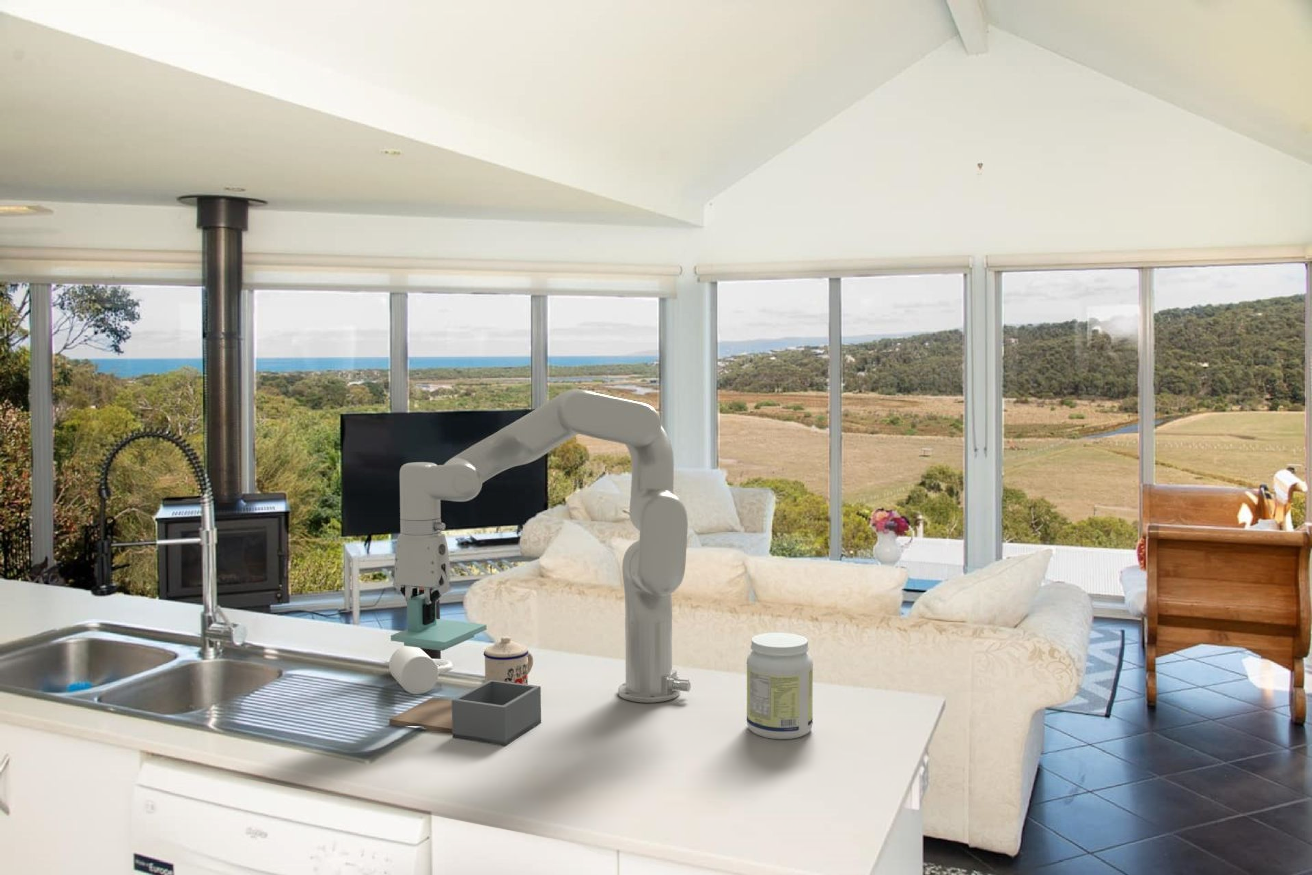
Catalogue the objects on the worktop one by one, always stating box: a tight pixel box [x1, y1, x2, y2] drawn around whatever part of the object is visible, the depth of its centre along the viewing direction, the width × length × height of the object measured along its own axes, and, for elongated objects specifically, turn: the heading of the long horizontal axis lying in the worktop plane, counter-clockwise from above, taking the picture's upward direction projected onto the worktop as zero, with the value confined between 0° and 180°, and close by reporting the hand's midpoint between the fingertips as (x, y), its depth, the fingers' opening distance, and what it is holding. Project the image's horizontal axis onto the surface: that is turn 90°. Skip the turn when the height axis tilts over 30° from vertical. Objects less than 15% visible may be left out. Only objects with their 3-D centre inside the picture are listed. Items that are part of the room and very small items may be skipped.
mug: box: [388, 645, 453, 695], centre depth 220 cm, size 12×10×8 cm
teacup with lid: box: [483, 635, 534, 685], centre depth 217 cm, size 12×9×12 cm
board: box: [389, 696, 453, 735], centre depth 201 cm, size 14×14×1 cm
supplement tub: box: [746, 632, 814, 740], centre depth 193 cm, size 12×12×17 cm
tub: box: [451, 680, 542, 747], centre depth 194 cm, size 11×13×7 cm
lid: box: [390, 594, 487, 652], centre depth 200 cm, size 12×14×8 cm
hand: (422, 621), depth 201 cm, fingers closed on lid
